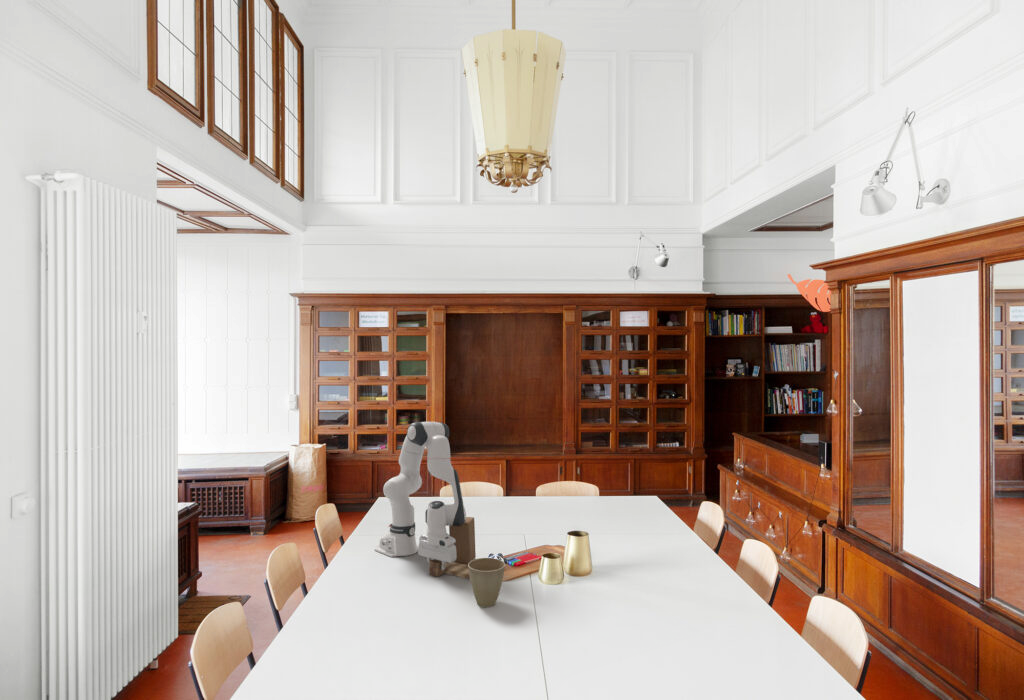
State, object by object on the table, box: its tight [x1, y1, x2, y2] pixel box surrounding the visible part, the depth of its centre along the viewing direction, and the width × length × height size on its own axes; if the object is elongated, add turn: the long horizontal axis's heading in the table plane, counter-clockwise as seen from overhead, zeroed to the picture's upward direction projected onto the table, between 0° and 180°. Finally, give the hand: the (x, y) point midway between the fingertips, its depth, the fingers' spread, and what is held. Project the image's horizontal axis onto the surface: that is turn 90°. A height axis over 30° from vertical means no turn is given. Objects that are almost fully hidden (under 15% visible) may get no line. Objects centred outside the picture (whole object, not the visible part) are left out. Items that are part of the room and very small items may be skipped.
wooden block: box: [448, 516, 477, 565], centre depth 291 cm, size 10×10×20 cm
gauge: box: [428, 559, 448, 578], centre depth 278 cm, size 5×12×6 cm, turn 147°
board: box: [444, 562, 470, 580], centre depth 276 cm, size 24×9×2 cm, turn 57°
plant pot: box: [468, 557, 506, 608], centre depth 243 cm, size 15×15×16 cm
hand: (437, 568), depth 275 cm, fingers closed on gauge, 5 cm apart
